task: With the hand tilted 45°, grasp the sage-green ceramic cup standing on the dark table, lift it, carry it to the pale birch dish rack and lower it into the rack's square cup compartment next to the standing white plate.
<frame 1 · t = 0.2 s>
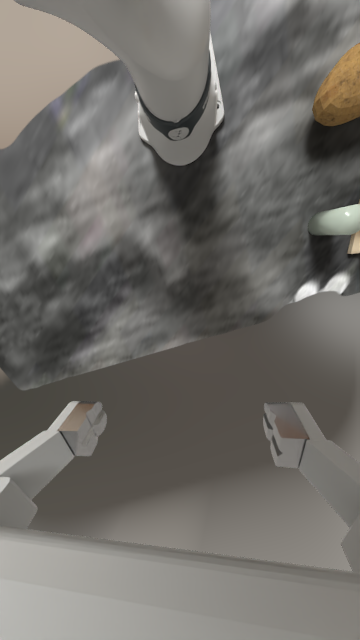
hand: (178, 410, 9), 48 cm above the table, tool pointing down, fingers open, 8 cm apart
potato: (338, 102, 36), on the table
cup: (319, 223, 45), on the table
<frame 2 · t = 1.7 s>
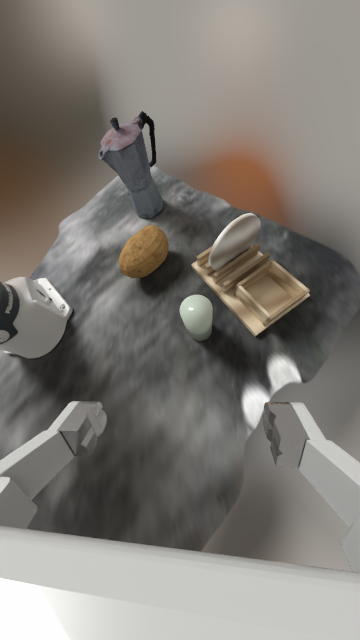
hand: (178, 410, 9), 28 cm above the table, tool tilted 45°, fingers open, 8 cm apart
potato: (149, 265, 47), on the table
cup: (199, 329, 39), on the table
moka pot: (150, 207, 54), on the table
rack: (244, 281, 41), on the table
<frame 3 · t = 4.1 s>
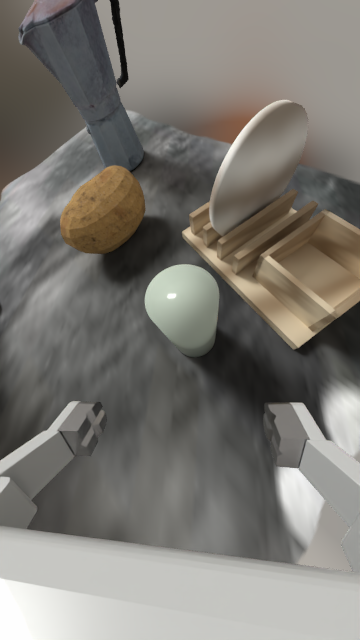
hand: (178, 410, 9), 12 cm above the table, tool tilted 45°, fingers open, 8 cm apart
potato: (119, 237, 31), on the table
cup: (194, 336, 23), on the table
moka pot: (125, 161, 38), on the table
rack: (269, 255, 25), on the table
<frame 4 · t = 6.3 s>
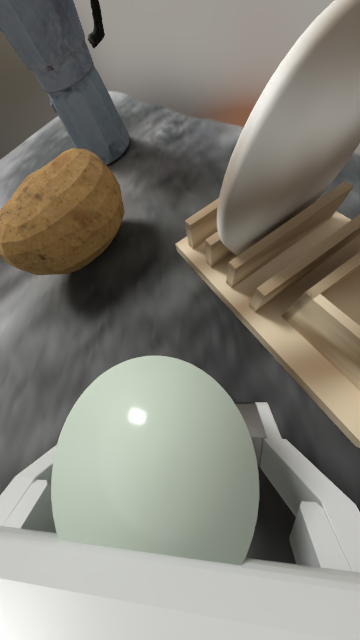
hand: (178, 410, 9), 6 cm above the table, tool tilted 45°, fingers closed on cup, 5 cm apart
potato: (92, 249, 23), on the table
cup: (191, 409, 15), on the table, touching gripper
moka pot: (107, 151, 30), on the table
rack: (303, 281, 17), on the table
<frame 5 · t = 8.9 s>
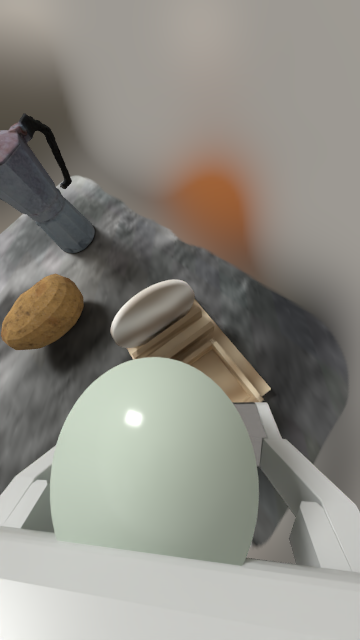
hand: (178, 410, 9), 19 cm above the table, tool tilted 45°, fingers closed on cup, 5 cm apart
potato: (65, 322, 35), on the table
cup: (191, 409, 15), point 13 cm above the table, touching gripper
moka pot: (79, 237, 42), on the table
rack: (184, 355, 29), on the table
when the fingers open (9 cm above the table, at t = 11.3 s): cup drops 1 cm, resting on rack.
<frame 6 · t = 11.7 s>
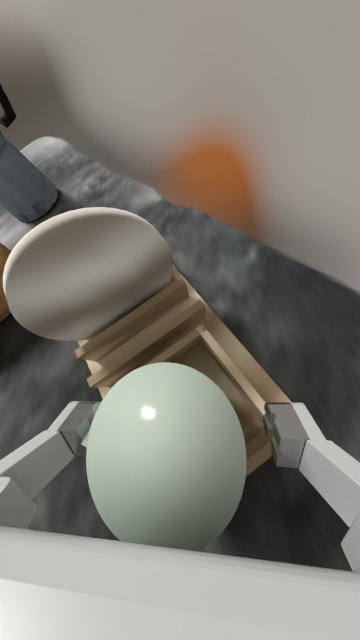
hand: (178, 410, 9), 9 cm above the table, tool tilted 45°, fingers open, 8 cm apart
potato: (6, 308, 26), on the table
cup: (192, 407, 16), point 1 cm above the table, touching rack
moka pot: (40, 203, 33), on the table
rack: (162, 354, 19), on the table
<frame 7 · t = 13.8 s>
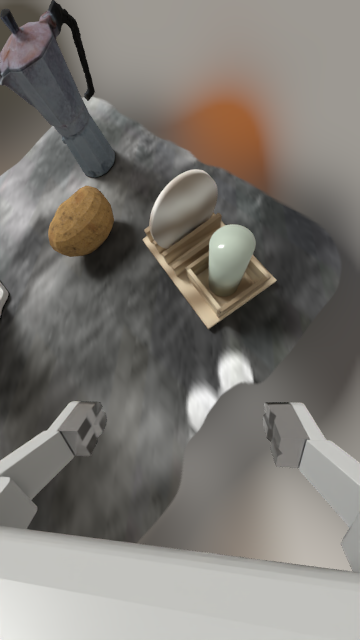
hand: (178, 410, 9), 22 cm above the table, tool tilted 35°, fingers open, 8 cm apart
potato: (96, 239, 39), on the table
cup: (223, 282, 31), point 1 cm above the table, touching rack
moka pot: (99, 162, 43), on the table
rack: (203, 261, 34), on the table
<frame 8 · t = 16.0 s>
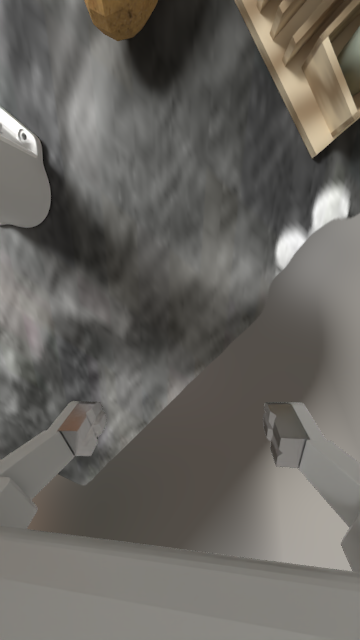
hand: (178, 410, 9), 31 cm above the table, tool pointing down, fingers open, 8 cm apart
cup: (354, 68, 23), point 1 cm above the table, touching rack
rack: (327, 24, 22), on the table
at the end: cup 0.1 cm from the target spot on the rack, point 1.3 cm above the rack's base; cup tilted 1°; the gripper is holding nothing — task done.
